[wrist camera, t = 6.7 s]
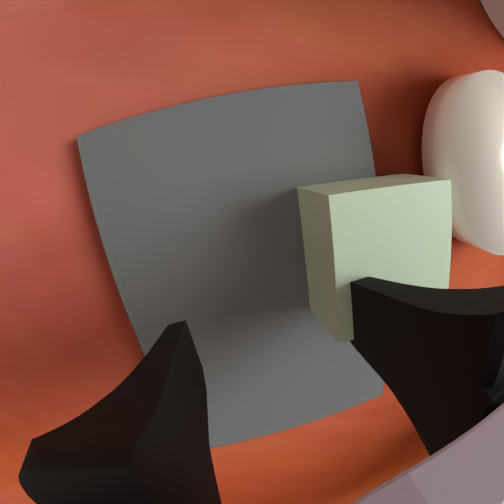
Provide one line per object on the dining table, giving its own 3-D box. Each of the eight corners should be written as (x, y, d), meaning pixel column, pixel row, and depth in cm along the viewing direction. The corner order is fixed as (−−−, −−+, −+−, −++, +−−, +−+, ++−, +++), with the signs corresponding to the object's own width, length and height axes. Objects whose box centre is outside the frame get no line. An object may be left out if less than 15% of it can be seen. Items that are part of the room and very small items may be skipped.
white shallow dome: (511, 223, 15) (545, 234, 12) (418, 258, 14) (458, 277, 11) (498, 84, 12) (533, 81, 10) (394, 73, 11) (435, 58, 9)
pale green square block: (406, 280, 14) (446, 305, 11) (309, 307, 13) (338, 344, 10) (403, 173, 12) (451, 179, 9) (296, 187, 12) (328, 195, 9)
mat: (378, 388, 16) (383, 394, 15) (193, 443, 15) (193, 450, 14) (350, 83, 11) (357, 80, 11) (81, 137, 10) (76, 136, 10)
